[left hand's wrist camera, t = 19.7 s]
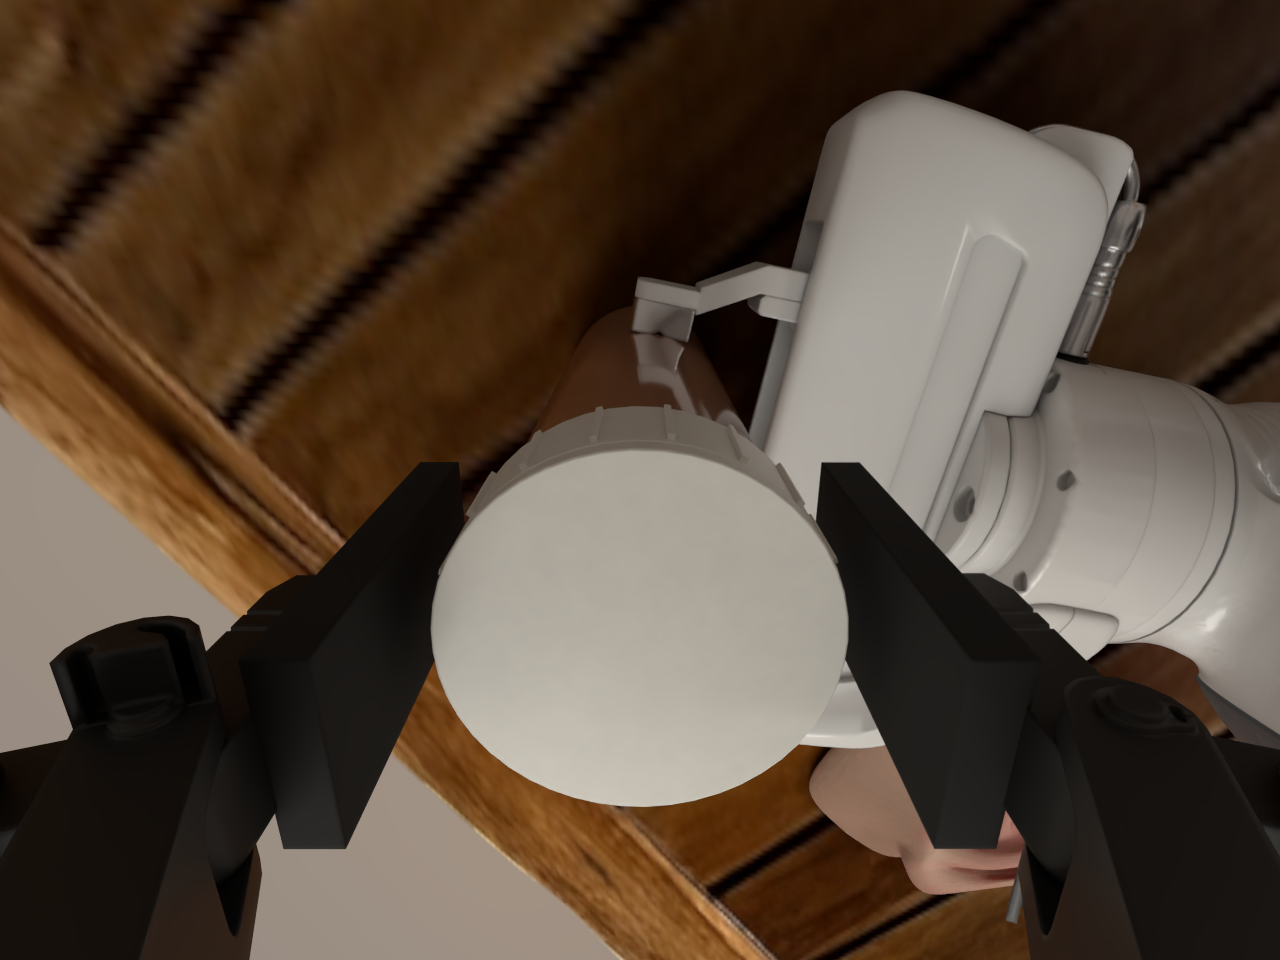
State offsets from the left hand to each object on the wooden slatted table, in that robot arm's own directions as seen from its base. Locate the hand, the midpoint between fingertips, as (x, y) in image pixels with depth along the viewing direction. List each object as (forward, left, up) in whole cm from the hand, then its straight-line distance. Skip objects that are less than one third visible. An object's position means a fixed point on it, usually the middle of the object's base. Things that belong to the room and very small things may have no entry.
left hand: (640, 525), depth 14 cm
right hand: (+1, -1, -8) cm, 8 cm away
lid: (0, 0, +4) cm, 4 cm away
